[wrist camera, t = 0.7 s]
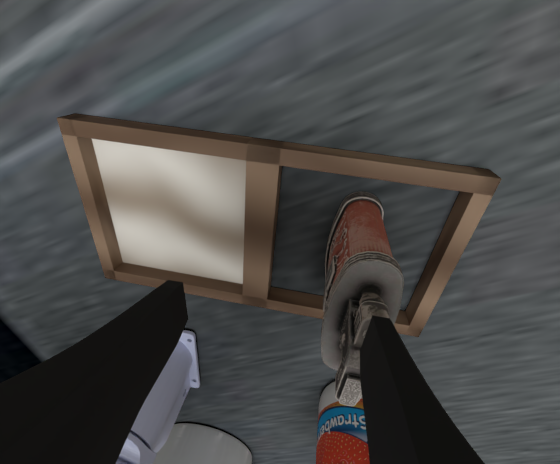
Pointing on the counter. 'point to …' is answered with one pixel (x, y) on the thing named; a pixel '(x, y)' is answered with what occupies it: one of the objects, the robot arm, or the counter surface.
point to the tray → (235, 208)
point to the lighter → (356, 288)
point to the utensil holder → (202, 447)
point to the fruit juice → (341, 431)
